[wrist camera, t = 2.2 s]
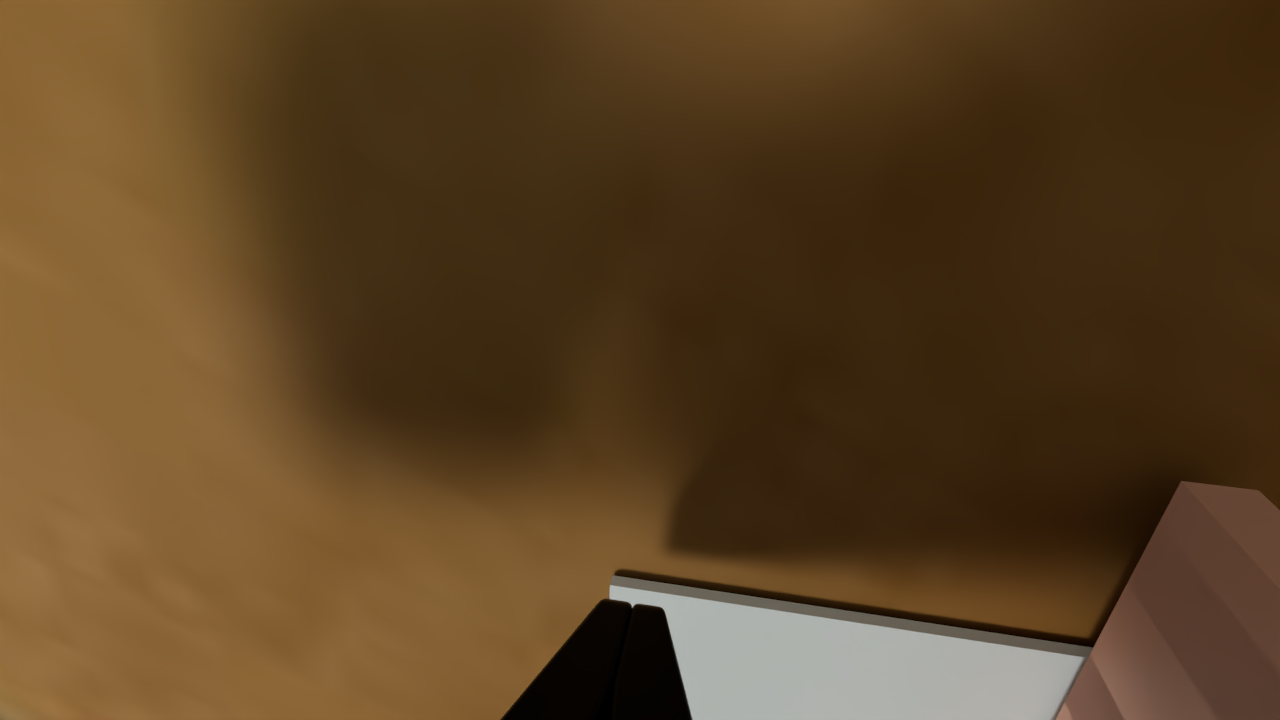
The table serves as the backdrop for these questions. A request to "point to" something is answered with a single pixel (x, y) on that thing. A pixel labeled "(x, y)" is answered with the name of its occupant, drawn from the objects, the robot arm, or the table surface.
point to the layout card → (849, 662)
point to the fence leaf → (1193, 618)
